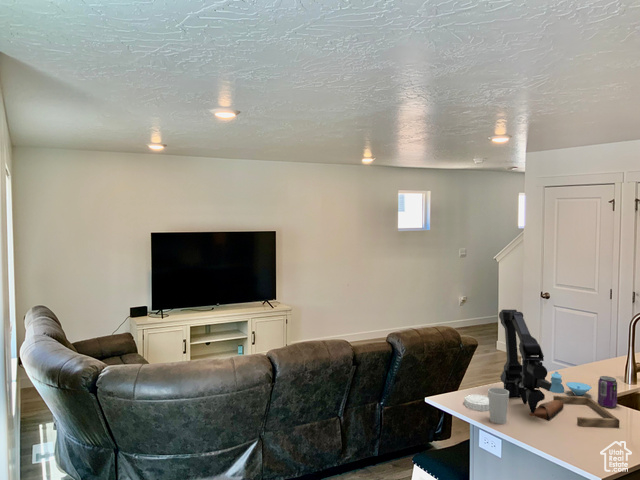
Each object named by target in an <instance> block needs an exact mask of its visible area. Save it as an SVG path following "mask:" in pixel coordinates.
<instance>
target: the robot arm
mask: <svg viewBox="0 0 640 480" xmlns="http://www.w3.org/2000/svg"><path fill="white" fill-rule="evenodd" d="M498 318H499V320H500V324H501V326H502V327H503V329H504V334H505V335H504V338H505V349H506V350H505V351H506V361H505V364H504V365H503V370H502V372H501V374H500V377H499V378H500V382H502V383H503V389H506V390H508V391H509V398H511V399H512V398H513V399H514V398H515V399H521V401H522V404H523V405H527V404H528V407H529V410H530V413H534V412H535V409H536V408H537V407H538V404H539V402H541V401H544V400H545V399H546V398H545V397H546V395H545V394H544V393H543V391H542V390H540V388H541V389H543V390H545V391H546V392H550V391H549V390H550V388H551V385H552V384H551V381H548V380H547V379H546V377H547V376H548V370H547V368H546V366H544V365H543V364H544V363H543V362H544V361H545V360H544V357H545V355H544V353H543V350H542V347H541V346H540V344H539V343H538V341H537V339H536V338H535V337H533V336H532V334H531V332H530V330H529V328H528V326H527V324H526V322H525V318H524V313H523V312H521V311H518V310H517V309H501V310H500V311H499V312H498ZM517 337H518V339H519V344H518V341H517ZM518 349H519V350H518ZM518 351H519V352H518ZM518 353H520V356H521V357H520V358H521V359H522V360H521V363H520V361H519V355H518Z"/></svg>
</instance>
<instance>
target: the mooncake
mask: <svg viewBox="0 0 640 480" xmlns="http://www.w3.org/2000/svg"><path fill="white" fill-rule="evenodd" d="M463 403H464V404H463V405H464V406H465V408H467V409H469V410H473V411H477V412H489V397H488V395H484V394H474V393H472V394H469V395H465V397H464V398H463Z"/></svg>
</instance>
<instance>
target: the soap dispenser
mask: <svg viewBox="0 0 640 480" xmlns="http://www.w3.org/2000/svg"><path fill="white" fill-rule="evenodd" d="M550 383H551V384H552V385H551V388H550V390H549V391H548V392H552V393H554V394H563V393H565V387H564V385H563V384H562V383H563V380H562V375H561V374H560V373H559V371H554V373H552V374H551V378H550ZM565 386H566V387H568V389H569V390H570V391H571V393H573V394H574V395H575V396H580V397H583V395H585V394H587V393H588V392H589V391H590V390H591V389H592V386H591V385H590V384H587V383H584V382H579V381H578V382H577V381H569V382H566V383H565Z"/></svg>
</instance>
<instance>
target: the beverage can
mask: <svg viewBox="0 0 640 480" xmlns="http://www.w3.org/2000/svg"><path fill="white" fill-rule="evenodd" d="M597 385H598V386H597V403H598V404H599V405H600V406H602V407H603V408H610V409H611V408H613V409H614V408H615V407H617V406H618V381H617V378H615V377H612V376H609V375H601V376H599V379H598V382H597Z"/></svg>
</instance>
